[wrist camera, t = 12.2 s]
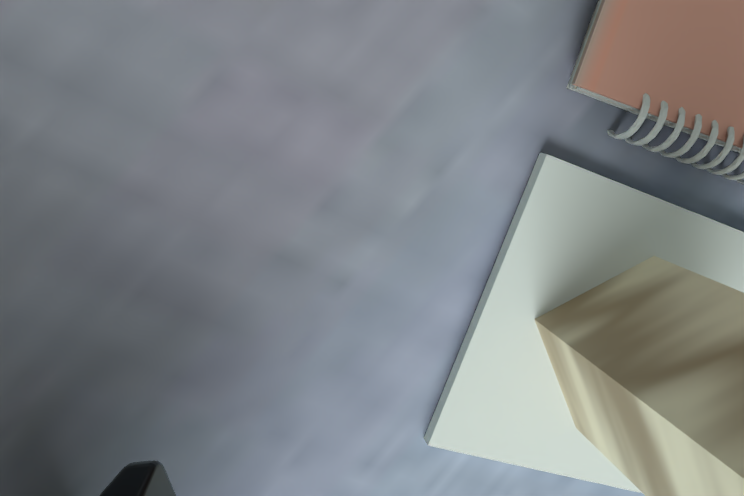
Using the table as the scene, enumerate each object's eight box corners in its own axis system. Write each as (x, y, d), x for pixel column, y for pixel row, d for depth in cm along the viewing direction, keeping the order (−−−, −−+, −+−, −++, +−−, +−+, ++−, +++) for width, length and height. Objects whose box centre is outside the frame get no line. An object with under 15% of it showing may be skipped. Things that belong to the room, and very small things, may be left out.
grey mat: (658, 491, 27) (666, 498, 27) (423, 438, 24) (428, 445, 24) (776, 245, 26) (786, 249, 25) (540, 152, 22) (547, 153, 22)
